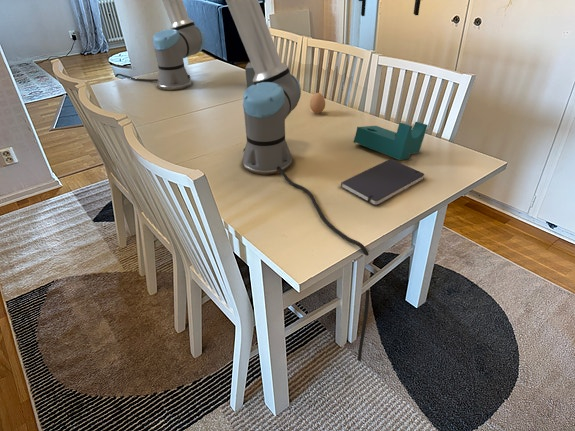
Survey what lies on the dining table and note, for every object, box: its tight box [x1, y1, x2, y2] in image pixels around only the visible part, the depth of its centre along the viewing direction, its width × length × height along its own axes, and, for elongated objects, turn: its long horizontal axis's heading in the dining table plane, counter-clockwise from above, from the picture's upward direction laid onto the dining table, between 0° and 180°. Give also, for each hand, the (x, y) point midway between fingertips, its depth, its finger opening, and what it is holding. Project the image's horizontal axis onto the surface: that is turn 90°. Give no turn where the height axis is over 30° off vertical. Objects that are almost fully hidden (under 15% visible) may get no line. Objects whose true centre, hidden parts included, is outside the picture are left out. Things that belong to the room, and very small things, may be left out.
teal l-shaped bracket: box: [353, 121, 428, 161], centre depth 129 cm, size 18×11×10 cm, turn 43°
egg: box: [309, 92, 326, 114], centre depth 156 cm, size 6×6×8 cm
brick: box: [244, 62, 255, 89], centre depth 183 cm, size 9×5×10 cm, turn 176°
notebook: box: [340, 158, 425, 206], centre depth 114 cm, size 13×2×21 cm
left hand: (247, 2), depth 166 cm, fingers open, 13 cm apart
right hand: (389, 15), depth 105 cm, fingers open, 13 cm apart
